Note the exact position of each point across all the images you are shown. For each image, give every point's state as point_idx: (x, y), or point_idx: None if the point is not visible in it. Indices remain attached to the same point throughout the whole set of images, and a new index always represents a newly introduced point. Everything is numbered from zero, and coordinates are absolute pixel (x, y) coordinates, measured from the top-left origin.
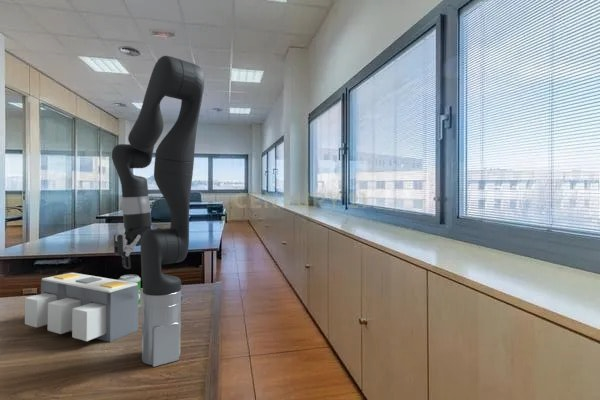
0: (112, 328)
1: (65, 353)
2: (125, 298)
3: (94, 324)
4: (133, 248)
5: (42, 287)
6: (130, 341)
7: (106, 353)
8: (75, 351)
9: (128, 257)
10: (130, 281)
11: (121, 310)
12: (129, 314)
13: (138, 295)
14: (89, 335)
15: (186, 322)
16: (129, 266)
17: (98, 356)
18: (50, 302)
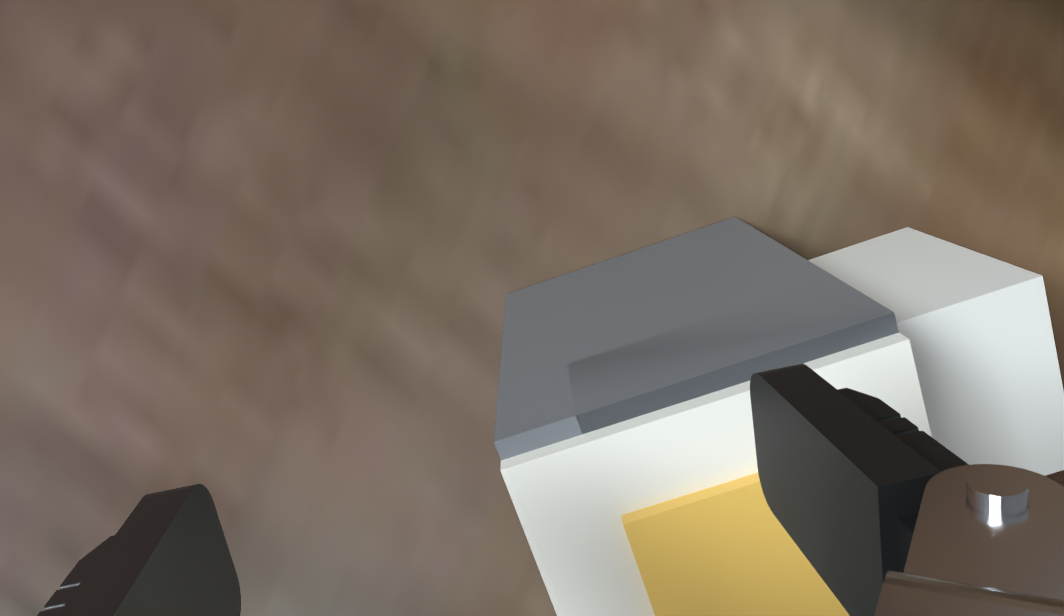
0: (742, 240)
1: (997, 239)
2: (664, 341)
3: (894, 270)
4: (899, 578)
5: None
6: (631, 126)
7: (829, 40)
8: (946, 226)
9: (907, 461)
10: None
11: (689, 294)
12: (594, 307)
13: (499, 390)
14: (902, 240)
15: (148, 180)
16: (794, 376)
17: (884, 30)
18: None
